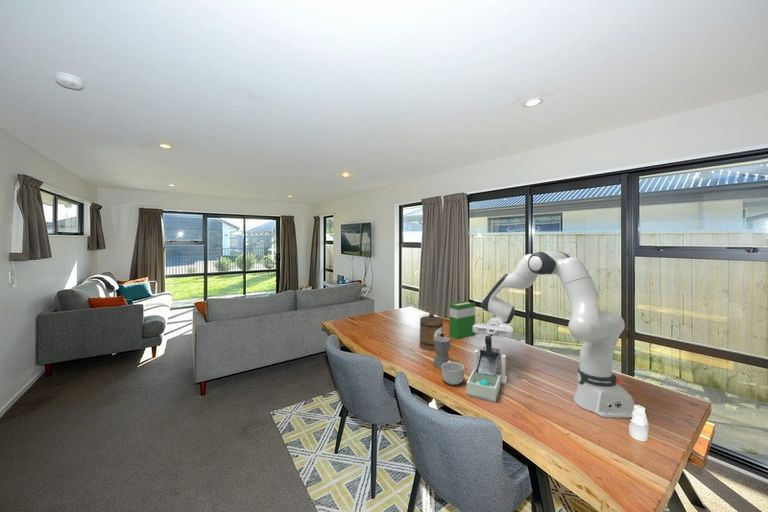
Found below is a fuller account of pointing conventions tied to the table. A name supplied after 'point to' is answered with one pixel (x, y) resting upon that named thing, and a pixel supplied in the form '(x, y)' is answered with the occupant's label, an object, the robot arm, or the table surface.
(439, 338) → the coffeepot
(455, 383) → the teacup
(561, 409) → the table surface
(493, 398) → the bin
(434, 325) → the wooden container
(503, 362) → the lever frame
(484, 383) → the ball
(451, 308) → the cereal box
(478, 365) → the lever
